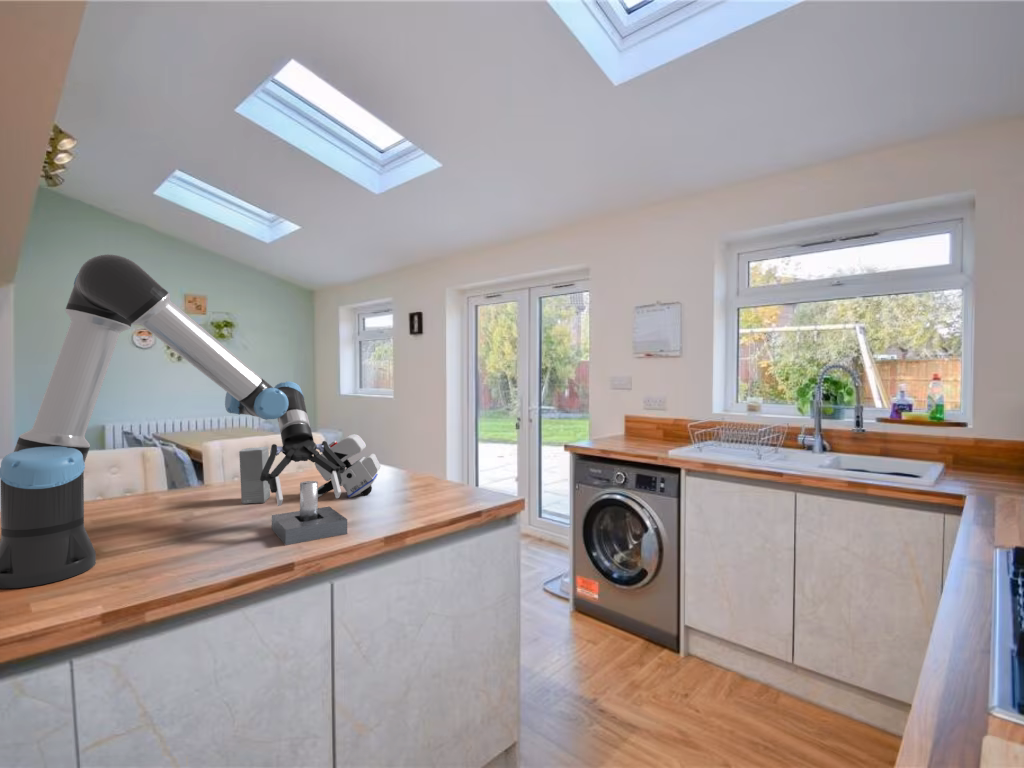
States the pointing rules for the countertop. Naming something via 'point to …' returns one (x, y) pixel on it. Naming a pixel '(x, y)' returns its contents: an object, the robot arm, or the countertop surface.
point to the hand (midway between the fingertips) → (310, 499)
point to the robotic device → (351, 467)
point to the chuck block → (308, 526)
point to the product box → (253, 475)
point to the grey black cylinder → (308, 500)
